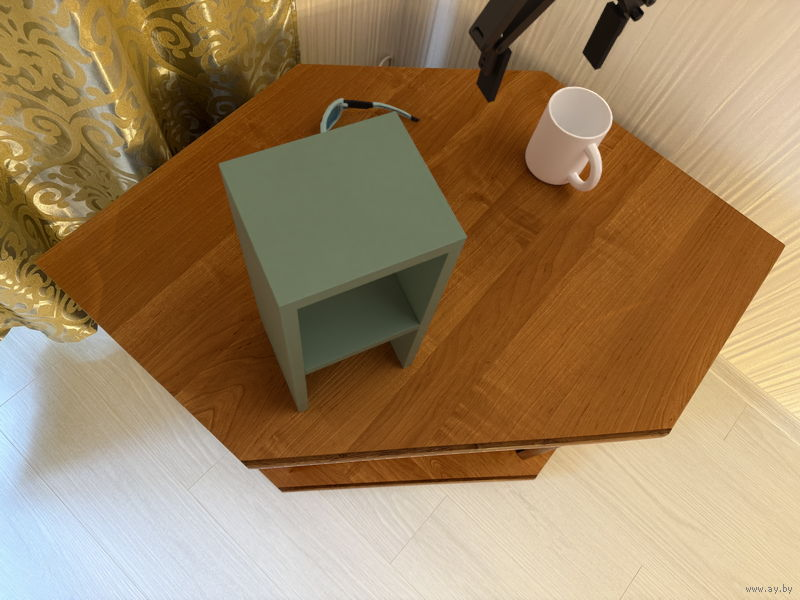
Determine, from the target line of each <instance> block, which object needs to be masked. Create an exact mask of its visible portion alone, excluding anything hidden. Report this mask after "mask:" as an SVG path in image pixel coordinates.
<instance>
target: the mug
mask: <svg viewBox="0 0 800 600" xmlns="http://www.w3.org/2000/svg"><path fill="white" fill-rule="evenodd" d="M612 124H613V113H612V110H611V108H610V106H609V104H608V103H607V102H606V100H605V99H604V98H603V97H602V96H600V95H599V94H598V93H596V92H595V91H592V90H590V89H588V88H585V87H580V86H566V87H563V88H560V89H558V90H556V91H555V92H554V93H553V94H552V95H551V97H550V99H549V100H548V102H547V105H546V106H545V108H544V111H543V113H542V114H541V116H540V119H539V121H538V123H537V125H536V127H535V129H534V131H533V133H532V135H531V137H530V140H529V141H528V144H527V147H526V149H525V153H524V154H525V156H524V157H525V163H526V166H527V168H528V170H529V172H531V174H533V176H534V177H536V178H537V179H538V180H540V181H542V182H544V183H546V184H550V185H554V186H555V185H556V186H557V185H558V186H560V185H566V184H570V186H571V187H572V188H574V190H577V191H579V192H590V191H591V190H593V189H595V187H596V186H597V185H598V183H600V182H599V181H600V179H601V176H602V172H603V162H602V156H601V153H600V150H599V149H598V148H599V146H600V144H601V143H602V142H603V140H604V138H605V137H606V135H607V134H608V132H609V131H610V129H611V127H612ZM588 163H589V165H590V170H589V171H590V173H589V176H588V178H587V180H585V181H584V180H582V178H580V174H581V173H582V172H583V170H584V169H585V167H586V166H587V164H588Z"/></svg>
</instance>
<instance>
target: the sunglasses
mask: <svg viewBox="0 0 800 600" xmlns="http://www.w3.org/2000/svg"><path fill="white" fill-rule="evenodd" d="M348 109H357V110H370V109H382V110H386V111H389V112H390V111H391V112H394V111H396V112H397V114H398V115H400V116H402V117H404V118H406V119H409V120H410V121H412V122H415V123H417V122H420V121H421V118H418V117H416V116H414V115H412V114H410V113H408V112H406V111H405V110H402V109H400V108H397V107H395V106H392V105H390V104H387V103H383V102H380V101H366V100H357V99H344V97H340V98H338V99H335V100H334V101H332V102H331V103H330V105H328V106H327V108H326V110H325V112H324V113H323V115H322V120H321V122H320V124H319V125H320V132H319V133H323V132H326V131H330V130H332V127H333V126H334V125H335V124H336V123H337V122H338V121H339V120H340V118H341V117H342V113H343V111H348Z"/></svg>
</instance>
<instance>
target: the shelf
mask: <svg viewBox="0 0 800 600" xmlns="http://www.w3.org/2000/svg"><path fill="white" fill-rule="evenodd" d="M218 168H219V172H220V176H221V179H222V183H223V187H224V190H225V194H226V198H227V201H228V204H229V208H230V212H231V215H232V220H233V223H234V226H235V230H236V234H237V238H238V241H239V245H240V249H241V252H242V255H243V259H244V263H245V265H246V267H245V268H246V270H247V273H248V277H249V281H250V284H251V285H250V286H251V289H252V292H253V296H254V299H255V303H256V306H257V310H258V315H259V318H260V321H261V323H262V326H263V328H264V331H265V333H266V336H267V338H268V340H269V343H270V345H271V348H272V351H273V353H274V355H275V358H276V360H277V362H278V365H279V367H280V370H281V372H282V375H283V378H284V380H285V383H286V385H287V387H288V390H289V393H290V394H291V397H292V399H293V402H294V405H295V407H296V409H297V411H298V413H302V412H304V411H307V410H309V409H310V405H309V399H308V397H309V396H308V388H307V380H306V376H307V375H309V374H313V373H314V372H317V371H319V370H322V369H324V368H326V367H329V366H332V365H334V364H336V363H338V362H341V361H344V360H346V359H349V358H350V357H351V358H352V357H353V356H356V355H359V354H361V353H363V352H366V351H368V350H370V349H373V348H376V347H378V346H380V345H383V344H386V343H387V342H389V343H390V344H391V345H390V346H391V347H392V348H393V349H392V350H393V351H394V353H395V355H396V357H397V359H398V362H399V363H400V365H401V367H402V369H406V368H408V367H410V366H412V365H413V363H414V361H415V360H416V356H417V354H418V352H419V350H420V347H421V345H422V342H423V340H424V338H425V336H426V333H427V331H428V329H429V327H430V324H431V322H432V320H433V318H434V315H435V312H436V310H437V308H438V306H439V304H440V301H441V299H442V297H443V294H444V292H445V290H446V287H447V285H448V283H449V281H450V278H451V276H452V273H453V271H454V269H455V266H456V265H457V262H458V260H459V257H460V255H461V253H462V251H463V248H464V246H465V243H466V241H467V239H468V236H467V233H465V231H464V229H463V227H462V225H461V223H460V222H459V220H458V218H457V217H456V215H455V212H453V209H452V207H451V206H450V204H449V202H448V201H447V199H446V197H445V195H444V193H443V192H442V190H441V188H440V187H439V185H438V183H437V181H436V180H435V178H434V176H433V174H432V172H431V170H430V169H429V167H428V165H427V164H426V162H425V160H424V158H423V156H422V155H421V153H420V151H419V149H418V148H417V146H416V144H415V143H414V141H413V138H412V137H411V135H410V133H409V132H408V130H407V128H406V126H405V125H404V123H403V121H402V119H401V118H400V116H399V114H398V113H397V112H396V111H394V112H392V111H391V112H390V111H389V112H387V113H384V114H381V115H377V116H374V117H370V118H367V119H364V120H361V121H356V122H354V123H349V124H346V125H343V126H340V127H337V128H334V129H330V130H329V131H326V132H323V133H320V132H319V133H317V134H313V135H310V136H307V137H303V138H299V139H296V140H293V141H289V142H286V143H282V144H279V145H276V146H272V147H269V148H266V149H262V150H259V151H256V152H253V153H249V154H245V155H242V156H238V157H235V158H232V159H229V160H225V161H222V162H219V163H218Z"/></svg>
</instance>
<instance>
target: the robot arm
mask: <svg viewBox="0 0 800 600" xmlns="http://www.w3.org/2000/svg"><path fill="white" fill-rule="evenodd" d="M555 2H556V0H488V2H487V3H486V4H485V5H484V7H483V9H482V10H481V12H480V13H479V14H478V16H477V17H476V19H475V20H474V22H473V23H472V25H471V26H470V28H469V29H468V32H467V33H468V34H469V36H470V38H471V40H472V41H473V43H474V44H475V45H476V47H477V48H478V50H479V51H480V54H479V59H478V62H477V66H478V68H479V69H480V70H479V73H478V76H477V79H476V82H475V85H476V86H477V88H478V89H479V91H480V92H481V94H482V96H483V98H485V100H486V102H487V103H488V104H489V103H492V102H495V101H496V98H497V95H498V93H499V89H500V87H501V84H502V82H503V79H504V76H505V73H506V71H507V68H508V65H509V63H510V59H511V57H512V55H513V51H512V49H511V48H510V46H511V45H512V44H513V43H514V42H515V41H516V40H517V39H518V38H519V37H520V36H521V35H522V34H523V33H524V32H526V30H528V28H529V27H530V26H531V25H532V24H533V23H535V22H536V20H537V19H539V17H540V16H541V15H542V14H543V13H544V12H545V11H546V10H548V8H550V6H552V5H553V4H554V3H555ZM616 2H617V3H615V1H614V0H611V1H607V2H606V4H605V6H604V7H603V10H602V12H601V13H600V16H599V18H598V19H597V22H596V24H595V26H594V28H593V29H592V31H591V34H590V36H589V38H588V40H587V41H586V43H585V46H584V47H583V50H582V52H581V53H582V54H583V56H584V57H585V59H586V60H587V62H588V63H589V64H590V65H591V67H592V68H593V70H594V71H597V70H600V69H602V67H603V65H604V63H605V61H606V59H607V58H608V56H609V54H610V52H611V50H612V48H614V45H615V43H616V42H617V39H618V38H619V37H620V36H621V35H622V33H623V31H624V30H625V28H626V26H627V24H628V22H629V20H630V19H631V20H632V22H634V23H637V22H639V21H640V20H641V19H642V18H643V17H644V15H645V11H644V10H643V9H642V8H641V7H643V6H645V7H646V8H650V7H652V6H653V5H655V3H657V0H616Z"/></svg>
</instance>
